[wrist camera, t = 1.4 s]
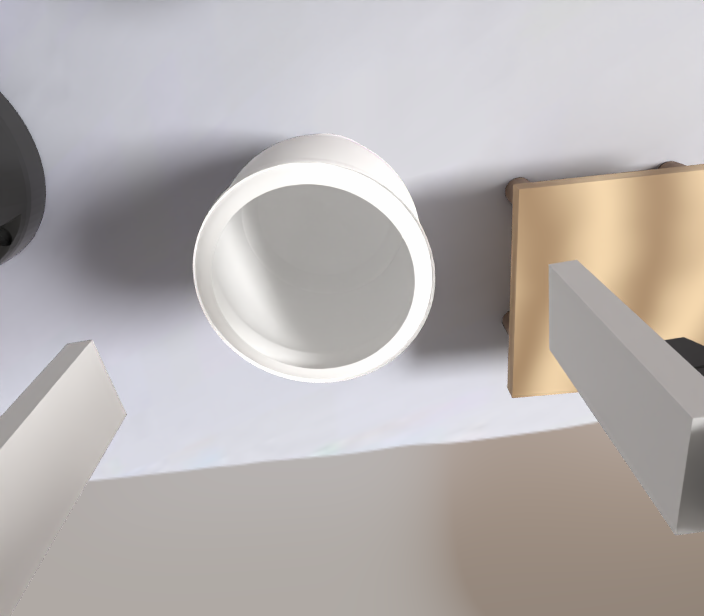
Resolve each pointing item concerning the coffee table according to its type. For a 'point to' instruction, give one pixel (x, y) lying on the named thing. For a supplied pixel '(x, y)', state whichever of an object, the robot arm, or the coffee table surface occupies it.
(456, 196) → the coffee table surface
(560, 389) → the stool
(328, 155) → the jar
